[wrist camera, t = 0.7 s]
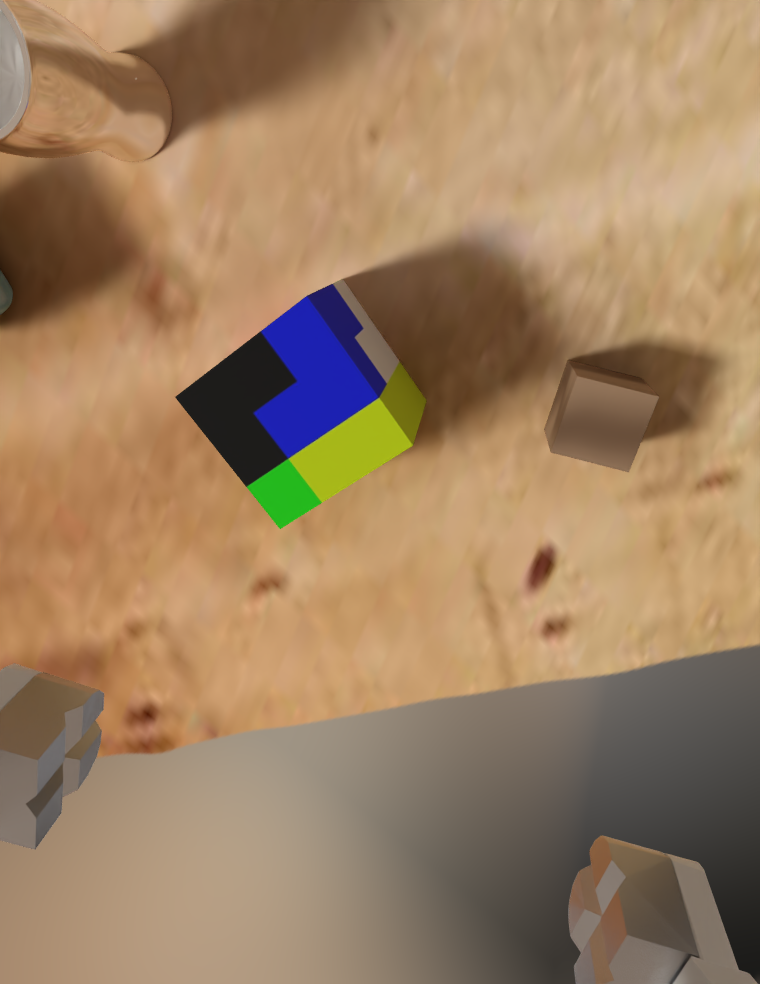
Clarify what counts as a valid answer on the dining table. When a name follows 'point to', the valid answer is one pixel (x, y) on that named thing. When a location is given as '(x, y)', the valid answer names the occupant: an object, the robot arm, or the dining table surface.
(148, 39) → the dining table surface
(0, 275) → the flower pot
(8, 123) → the beer glass
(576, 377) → the walnut cube
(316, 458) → the puzzle toy
